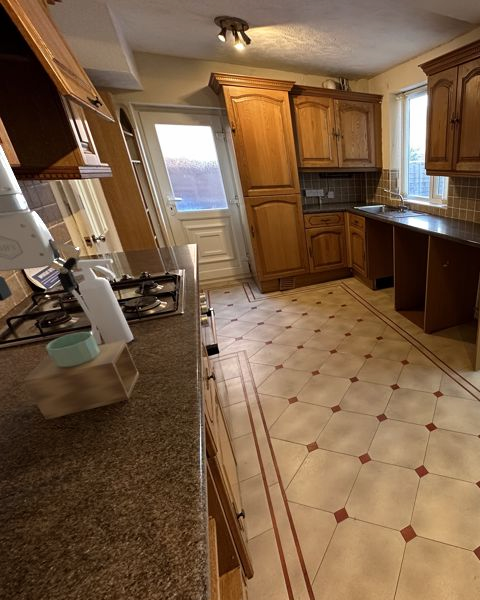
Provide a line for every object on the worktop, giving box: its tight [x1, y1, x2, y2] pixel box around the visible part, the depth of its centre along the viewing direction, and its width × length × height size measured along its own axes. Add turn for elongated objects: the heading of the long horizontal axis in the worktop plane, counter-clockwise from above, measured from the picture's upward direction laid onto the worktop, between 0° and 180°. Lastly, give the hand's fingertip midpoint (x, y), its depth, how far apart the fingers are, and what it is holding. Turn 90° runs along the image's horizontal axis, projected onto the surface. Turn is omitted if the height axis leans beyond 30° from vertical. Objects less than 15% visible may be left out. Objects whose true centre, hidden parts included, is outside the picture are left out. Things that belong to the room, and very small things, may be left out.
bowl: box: [45, 331, 100, 367], centre depth 69 cm, size 7×7×5 cm
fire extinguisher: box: [71, 258, 134, 346], centre depth 90 cm, size 7×12×25 cm, turn 118°
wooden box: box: [22, 341, 140, 420], centre depth 72 cm, size 14×10×10 cm
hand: (39, 294), depth 64 cm, fingers open, 9 cm apart
